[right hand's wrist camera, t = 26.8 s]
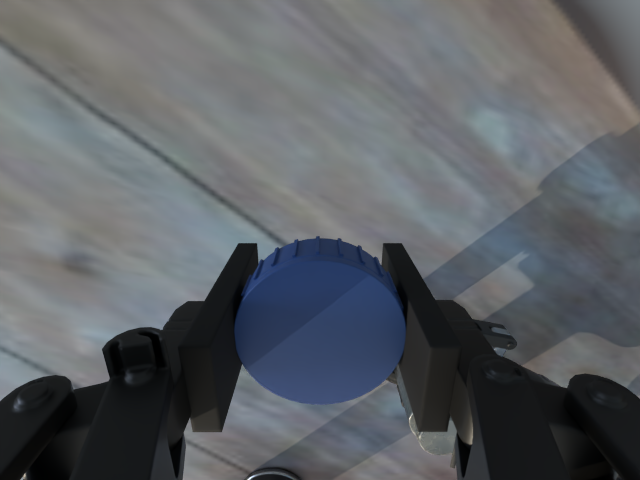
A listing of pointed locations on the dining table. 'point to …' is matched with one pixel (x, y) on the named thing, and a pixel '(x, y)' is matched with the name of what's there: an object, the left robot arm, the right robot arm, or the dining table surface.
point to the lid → (320, 322)
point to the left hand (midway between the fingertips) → (390, 343)
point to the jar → (428, 440)
